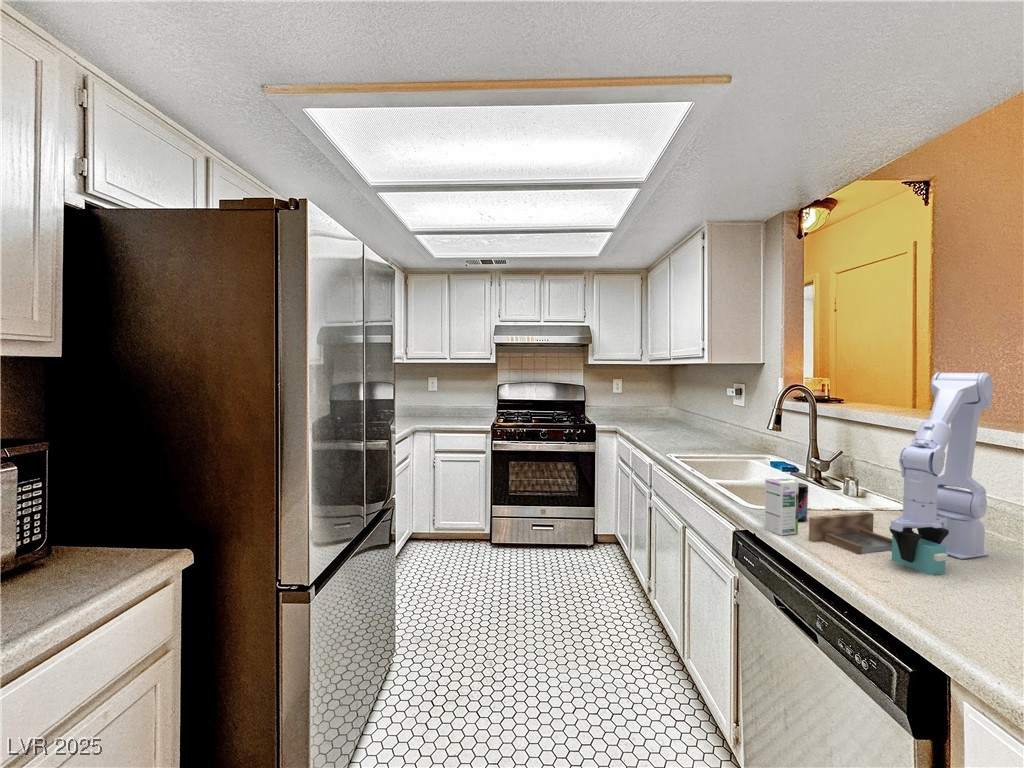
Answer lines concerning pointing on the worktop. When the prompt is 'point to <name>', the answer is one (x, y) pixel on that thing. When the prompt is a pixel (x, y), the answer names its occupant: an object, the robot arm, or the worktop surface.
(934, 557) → the cabinet block
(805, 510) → the supplement container
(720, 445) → the worktop surface
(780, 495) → the syrup box
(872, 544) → the grey flat plate
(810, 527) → the wooden tray
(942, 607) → the worktop surface
